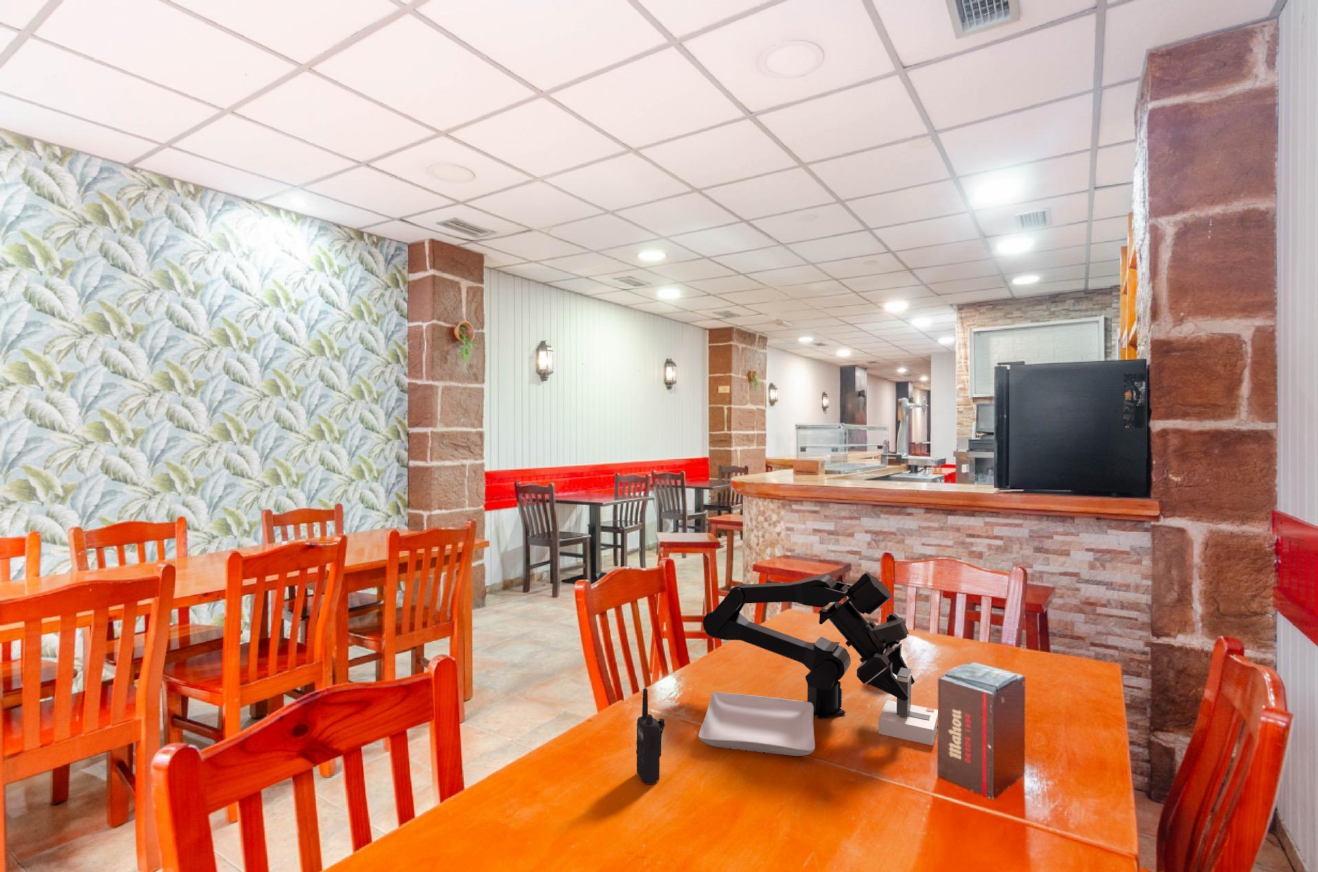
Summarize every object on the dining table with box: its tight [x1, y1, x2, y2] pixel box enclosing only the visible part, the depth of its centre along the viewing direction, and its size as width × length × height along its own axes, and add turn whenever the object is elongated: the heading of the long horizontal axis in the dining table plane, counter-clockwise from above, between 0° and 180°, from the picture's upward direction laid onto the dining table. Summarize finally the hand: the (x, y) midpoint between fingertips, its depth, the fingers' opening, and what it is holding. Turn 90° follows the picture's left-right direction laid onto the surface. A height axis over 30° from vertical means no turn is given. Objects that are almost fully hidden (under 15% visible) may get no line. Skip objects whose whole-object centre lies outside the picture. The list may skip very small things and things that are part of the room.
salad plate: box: [697, 691, 816, 757], centre depth 131 cm, size 21×21×3 cm
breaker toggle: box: [896, 667, 913, 717], centre depth 134 cm, size 2×5×8 cm, turn 152°
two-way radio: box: [635, 687, 666, 785], centre depth 114 cm, size 6×4×15 cm
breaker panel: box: [877, 699, 939, 746], centre depth 133 cm, size 10×10×3 cm
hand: (910, 691), depth 133 cm, fingers open, 9 cm apart
